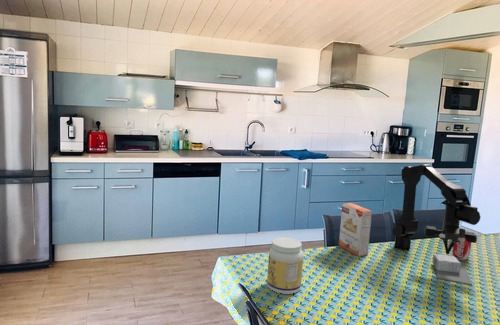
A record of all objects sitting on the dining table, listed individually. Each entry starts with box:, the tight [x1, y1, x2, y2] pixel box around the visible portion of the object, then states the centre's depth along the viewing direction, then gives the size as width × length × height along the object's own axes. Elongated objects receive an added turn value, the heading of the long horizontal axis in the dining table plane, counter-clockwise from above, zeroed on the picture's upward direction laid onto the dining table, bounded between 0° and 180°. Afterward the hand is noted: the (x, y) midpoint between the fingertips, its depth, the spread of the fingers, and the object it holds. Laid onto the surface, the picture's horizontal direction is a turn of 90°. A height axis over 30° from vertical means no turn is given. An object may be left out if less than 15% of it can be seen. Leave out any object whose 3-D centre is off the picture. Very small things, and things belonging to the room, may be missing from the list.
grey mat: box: [434, 262, 473, 286], centre depth 159 cm, size 12×22×1 cm, turn 158°
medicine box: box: [432, 253, 462, 273], centre depth 161 cm, size 8×4×9 cm
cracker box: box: [338, 202, 373, 257], centre depth 175 cm, size 14×6×21 cm, turn 25°
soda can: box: [451, 238, 472, 261], centre depth 174 cm, size 7×7×12 cm
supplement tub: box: [266, 236, 305, 295], centre depth 136 cm, size 12×12×17 cm
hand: (447, 253), depth 159 cm, fingers closed
